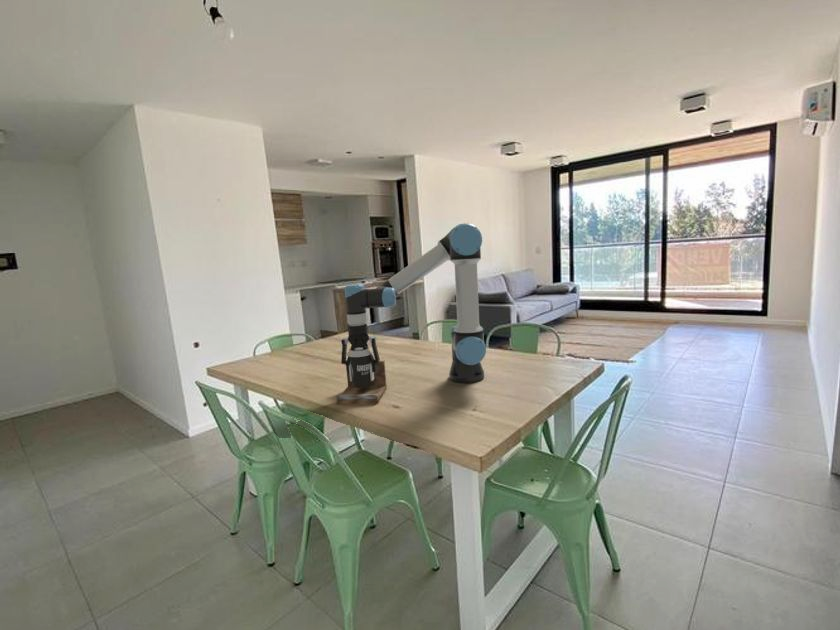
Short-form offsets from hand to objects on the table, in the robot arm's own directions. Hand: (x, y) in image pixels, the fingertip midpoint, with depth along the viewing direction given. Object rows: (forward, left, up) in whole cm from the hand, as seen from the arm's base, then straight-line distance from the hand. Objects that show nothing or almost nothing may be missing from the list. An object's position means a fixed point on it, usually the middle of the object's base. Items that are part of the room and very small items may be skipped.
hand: (362, 380), depth 169 cm
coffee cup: (0, 0, -2) cm, 2 cm away
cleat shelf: (0, +1, -6) cm, 6 cm away
